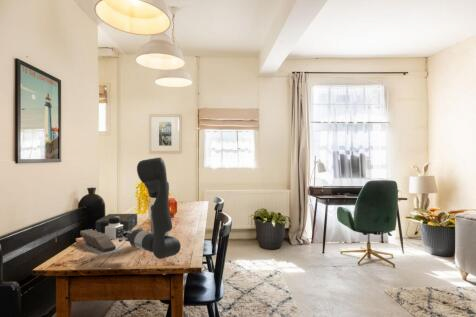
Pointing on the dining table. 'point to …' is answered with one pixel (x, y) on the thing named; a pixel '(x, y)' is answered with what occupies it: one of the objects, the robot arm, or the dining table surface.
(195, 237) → the dining table surface
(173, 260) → the dining table surface
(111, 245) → the tile
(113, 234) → the medicine bottle
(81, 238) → the tile
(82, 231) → the tile
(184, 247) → the dining table surface
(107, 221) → the cash box
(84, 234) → the tile
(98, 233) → the tile
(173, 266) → the dining table surface
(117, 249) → the felt strip
